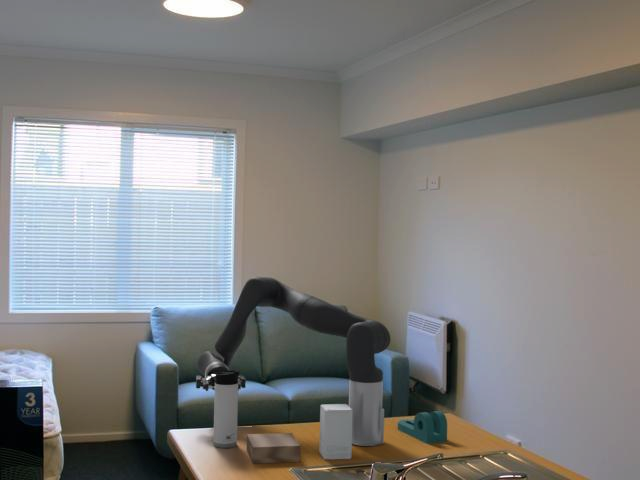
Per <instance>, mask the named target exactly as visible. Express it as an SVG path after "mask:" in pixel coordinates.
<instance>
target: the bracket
mask: <svg viewBox="0 0 640 480" xmlns="http://www.w3.org/2000/svg"><path fill="white" fill-rule="evenodd" d="M397 430H398V431H400V432H401V433H404V434H406V435H407V436H409V437H412V438H414V439H416V440H418V441H420V442H422V443H424V444H427V445H428V444H433V443H434V444H436V443H443V442H444V443H445V442H448V420H447V417H446V415H445V413H444V412H443V411H441V410H437V411H435V410H434V411H430V412H427V411H424V412H417V413H416V414H415V415H414V418H413V419H401V420H398V421H397Z"/></svg>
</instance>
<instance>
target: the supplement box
mask: <svg viewBox="0 0 640 480" xmlns="http://www.w3.org/2000/svg"><path fill="white" fill-rule="evenodd" d="M319 407H320V412H319V444H318V445H319V446H318V451H319V453H320V455H321V457H322V458H323V460H351V459H352V450H353V449H352V448H353V444H352V412H353V410H352V409H351V408H350V407H349V404H347V403H332V404H331V403H329V404H320V406H319Z"/></svg>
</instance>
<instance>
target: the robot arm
mask: <svg viewBox="0 0 640 480" xmlns="http://www.w3.org/2000/svg"><path fill="white" fill-rule="evenodd" d="M240 292H241V293H240V294H239V297H238V299H237V302H236V305H235V306H234V309H233V311H232V312H231V313H232V314H231V316H230V318H229V320H228V321H227V324H226V326H225V327H224V329H223V331H222V332H221V334H220V335H219V337H218V338H217V340H216V341H215V344H214V350H215V351H216V352H217V353H218V354H219V355H218V354H216V353H214V352H212V351H209V350H207V351H204V352H203V353H201V354H200V355H199V357H198V359H197V365H196V366H197V370H198V372H200V373H201V374H202V375H204V377H202V376H201V375H196V379H195V380H196V381H195V389H201V388H202V390H205V391H206V392H208V391H209V389H210V390H213V391H215V375H216V374H218V373H219V372H224V371H230V369H231V366H232V365H231V364H232V361H233V358H234V356H235V354H236V352H237V351H238V349H239V347H240V346H241V344H242V343H243V342H244V339H245V338H246V337H245V336H246V334H247V326H248V325H247V323H248V320H249V318H250V315H251V314H252V313H253V311H254V310H255V309H256V308H257V307H258V308H261V307H263V308H264V307H265V308H266V307H267V308H274V309H278V310H280V311H284V312H286V313H288V314H289V315H290V316H291V317H292V319H293V320H294V322H296V323H297V324H298V325H300V326H303V327H305V328H307V329H308V330H311V331H314V332H317V333H320V334H325V335H329V336H336V337H342V338H346V340H345V341H346V343H345V344H346V350H345V351H346V367H347V370H348V373H349V375H348V376H349V382H348V383H349V385H348V406H349V407H350V408H351V409H352V410H353V412H352V445H355V446H358V447H359V446H360V447H361V446H362V447H374V446H378V445H383V444H384V443H385V441H384V439H385V409H384V408H383V392H384V391H383V390H384V389H383V388H384V387H383V385H384V384H383V382H384V372H383V369H381V368H380V367H378V366H376V364H375V363H376V361H375V354H376V355H377V354H380V353H382V352H384V351H385V350H386V349H388V348H389V346H390V344H391V340H392V339H391V334H390V332H389V330H388V327H386V326H385V324H383V323H382V322H380V321H378V320H374V319H371V318H366V317H363V316H360V315H357V314H353V313H352V312H349V311H347V310H345V309H343V308H340V307H339V306H336V305H333V304H331V303H329V302H327V301H325V300H322V299H320V298H318V297H316V296H313V295H310V294H308V293H305V292H301V291H298V290H295V289H293V288H291V287H290V286H288V285H286V284H284V283H282V282H281V281H279V280H278V279H275V278H273V277H267V276H266V277H265V276H253V277H251V278H249V279H248V280H247V281H246V282H245V284H244V286H243V287H242V290H241V291H240ZM246 381H247V378H246V377H245V376H244V375H242V374H239V375H238V392H239V390H241V389H245V388H246Z"/></svg>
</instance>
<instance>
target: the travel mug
mask: <svg viewBox="0 0 640 480" xmlns="http://www.w3.org/2000/svg"><path fill="white" fill-rule="evenodd" d="M239 375H241V371H240V370H229V371H224V372H219V373H218V374H216V375H215V390H214V401H213V403H214V404H213V436H212V437H213V440H212V441H213V443H212V444H213V446H214V447H215V448H220V449H230V448H233V447H236V446H237V444H238V416H239V415H238V414H239V413H238V411H239V406H238V405H239V391H238V376H239Z"/></svg>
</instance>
